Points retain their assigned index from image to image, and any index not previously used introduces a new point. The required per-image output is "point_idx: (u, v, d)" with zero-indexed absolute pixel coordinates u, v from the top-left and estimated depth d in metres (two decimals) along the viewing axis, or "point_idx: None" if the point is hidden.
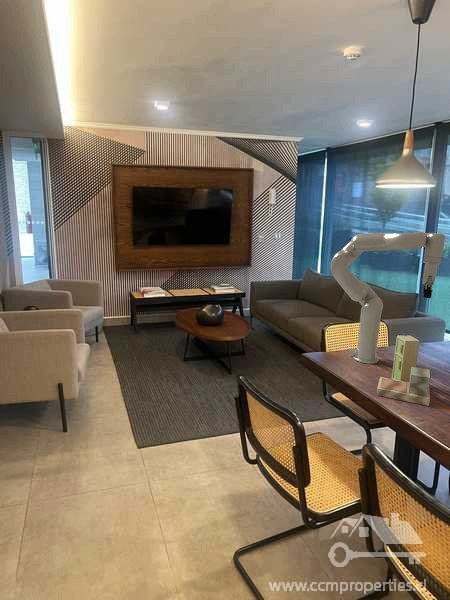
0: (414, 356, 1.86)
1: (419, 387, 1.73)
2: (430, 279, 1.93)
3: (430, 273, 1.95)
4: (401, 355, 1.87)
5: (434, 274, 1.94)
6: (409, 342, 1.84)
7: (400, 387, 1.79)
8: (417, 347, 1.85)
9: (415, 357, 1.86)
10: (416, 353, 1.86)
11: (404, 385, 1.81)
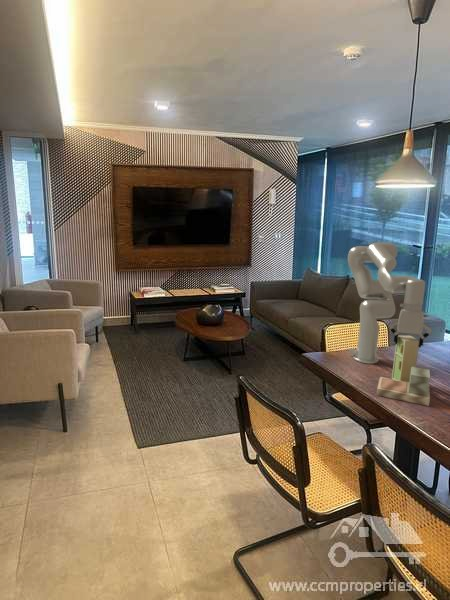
0: (414, 355, 1.86)
1: (419, 387, 1.73)
2: (428, 327, 1.83)
3: None
4: (401, 355, 1.87)
5: None
6: (409, 342, 1.84)
7: (400, 387, 1.79)
8: (417, 347, 1.85)
9: (415, 357, 1.86)
10: (416, 353, 1.86)
11: (404, 385, 1.81)
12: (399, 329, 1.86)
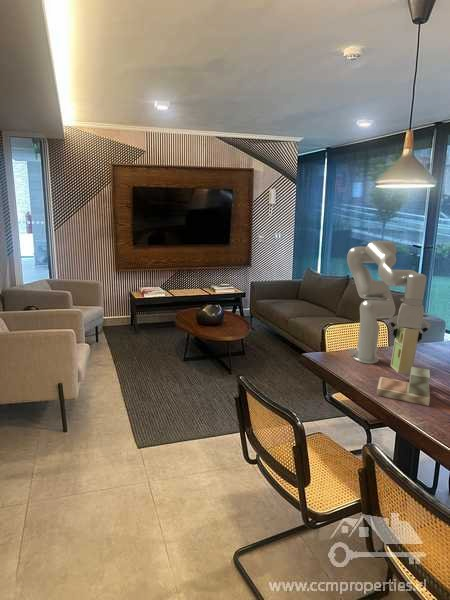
0: (413, 344, 1.86)
1: (419, 387, 1.73)
2: (427, 322, 1.84)
3: None
4: (400, 343, 1.88)
5: None
6: (409, 330, 1.84)
7: (400, 387, 1.79)
8: (417, 335, 1.85)
9: (414, 345, 1.86)
10: (416, 341, 1.86)
11: (404, 385, 1.81)
12: (398, 323, 1.86)
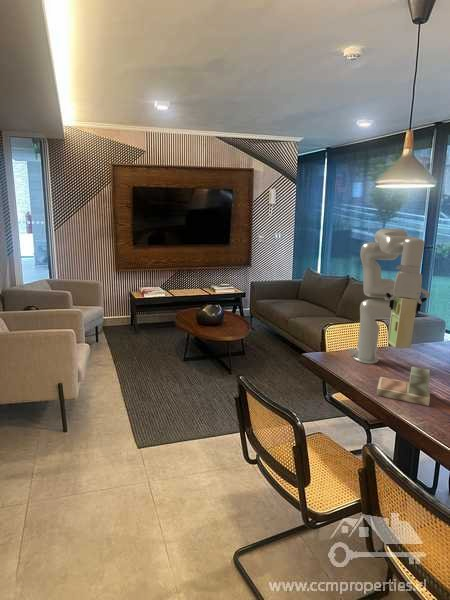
0: (411, 315, 1.72)
1: (419, 387, 1.73)
2: (426, 291, 1.69)
3: (421, 284, 1.69)
4: (397, 315, 1.73)
5: None
6: (406, 300, 1.70)
7: (400, 387, 1.79)
8: (415, 306, 1.71)
9: (413, 317, 1.72)
10: (414, 313, 1.71)
11: (404, 385, 1.81)
12: (395, 293, 1.72)
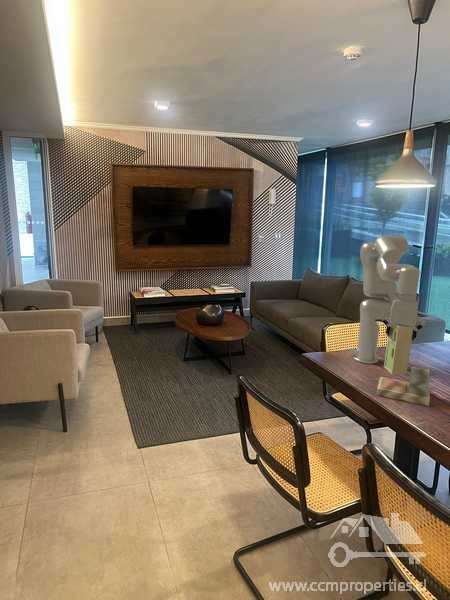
0: (407, 342, 1.74)
1: (419, 387, 1.73)
2: (422, 319, 1.72)
3: None
4: (394, 342, 1.76)
5: None
6: (402, 328, 1.72)
7: (400, 387, 1.79)
8: (411, 333, 1.73)
9: (409, 344, 1.74)
10: (410, 340, 1.74)
11: (404, 385, 1.81)
12: (391, 320, 1.74)
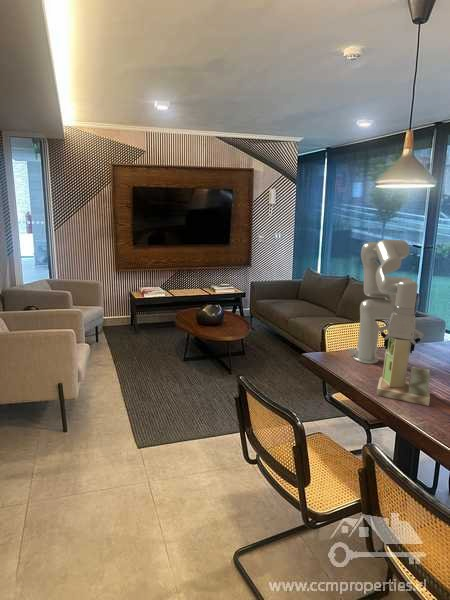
0: (405, 356, 1.76)
1: (419, 387, 1.73)
2: (420, 332, 1.73)
3: None
4: (391, 355, 1.77)
5: None
6: (400, 341, 1.74)
7: (400, 387, 1.79)
8: (408, 347, 1.75)
9: (406, 357, 1.76)
10: (407, 353, 1.76)
11: None
12: (389, 333, 1.76)
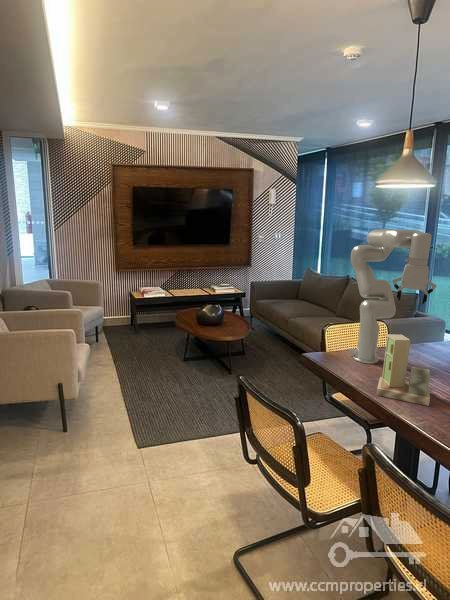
0: (404, 356, 1.76)
1: (419, 387, 1.73)
2: (433, 283, 1.78)
3: None
4: (391, 355, 1.77)
5: None
6: (399, 341, 1.74)
7: (400, 387, 1.79)
8: (408, 347, 1.75)
9: (406, 357, 1.76)
10: (407, 353, 1.76)
11: (404, 385, 1.81)
12: (402, 284, 1.81)
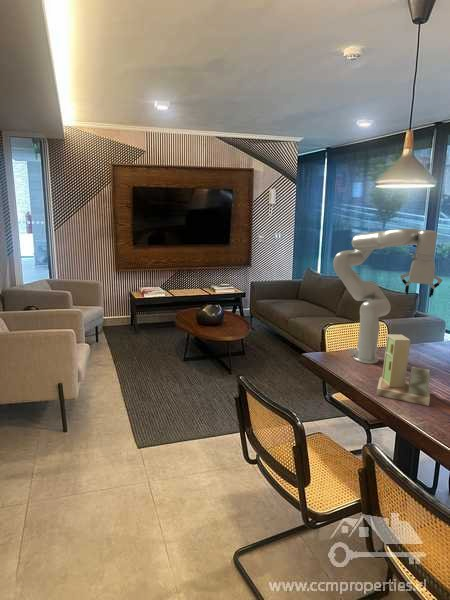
0: (404, 356, 1.76)
1: (419, 387, 1.73)
2: None
3: (434, 271, 1.89)
4: (391, 355, 1.77)
5: None
6: (399, 341, 1.74)
7: (400, 387, 1.79)
8: (408, 347, 1.75)
9: (406, 357, 1.76)
10: (407, 353, 1.76)
11: (404, 385, 1.81)
12: (410, 279, 1.91)
